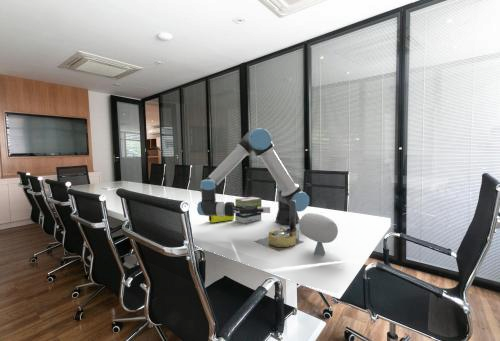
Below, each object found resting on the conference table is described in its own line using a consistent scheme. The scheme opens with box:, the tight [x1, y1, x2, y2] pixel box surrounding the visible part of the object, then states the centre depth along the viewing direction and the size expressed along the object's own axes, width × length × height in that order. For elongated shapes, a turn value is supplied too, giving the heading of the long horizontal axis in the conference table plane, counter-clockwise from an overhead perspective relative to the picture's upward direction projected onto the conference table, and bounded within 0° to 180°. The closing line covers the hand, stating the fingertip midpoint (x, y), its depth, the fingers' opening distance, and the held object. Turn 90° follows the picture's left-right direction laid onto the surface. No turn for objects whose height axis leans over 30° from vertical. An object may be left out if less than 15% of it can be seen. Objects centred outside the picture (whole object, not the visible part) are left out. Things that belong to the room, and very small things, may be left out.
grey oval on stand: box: [298, 212, 339, 256], centre depth 111 cm, size 15×20×18 cm
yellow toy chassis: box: [208, 214, 235, 224], centre depth 168 cm, size 16×6×8 cm, turn 119°
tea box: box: [234, 196, 262, 225], centre depth 168 cm, size 15×10×15 cm, turn 131°
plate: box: [253, 229, 304, 252], centre depth 124 cm, size 17×18×6 cm
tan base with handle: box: [268, 200, 298, 248], centre depth 123 cm, size 16×13×19 cm
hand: (269, 210), depth 130 cm, fingers closed
